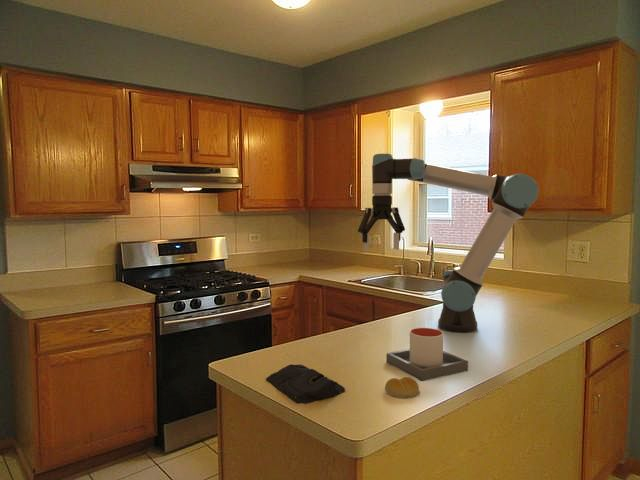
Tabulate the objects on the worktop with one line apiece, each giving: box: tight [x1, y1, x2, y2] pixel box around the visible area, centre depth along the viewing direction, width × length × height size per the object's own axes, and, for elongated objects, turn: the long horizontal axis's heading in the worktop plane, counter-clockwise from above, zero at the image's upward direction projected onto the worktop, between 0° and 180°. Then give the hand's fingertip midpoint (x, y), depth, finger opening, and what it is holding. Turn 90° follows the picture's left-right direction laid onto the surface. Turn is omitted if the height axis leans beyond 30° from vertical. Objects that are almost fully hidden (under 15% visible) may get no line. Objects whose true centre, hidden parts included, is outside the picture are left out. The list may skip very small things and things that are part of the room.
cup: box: [409, 327, 444, 368], centre depth 146 cm, size 10×10×10 cm
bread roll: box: [384, 376, 420, 399], centre depth 127 cm, size 8×9×4 cm
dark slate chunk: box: [265, 364, 346, 405], centre depth 132 cm, size 15×22×5 cm
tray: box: [385, 348, 469, 382], centre depth 146 cm, size 17×17×3 cm
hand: (381, 250), depth 183 cm, fingers open, 13 cm apart
